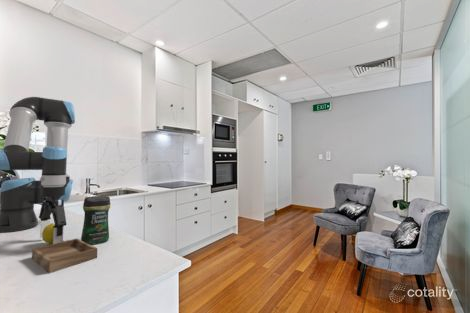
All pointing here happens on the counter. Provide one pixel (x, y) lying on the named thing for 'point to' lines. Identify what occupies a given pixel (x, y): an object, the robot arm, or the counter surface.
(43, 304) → the counter surface
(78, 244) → the walnut tray
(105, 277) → the counter surface
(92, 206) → the coffee jar
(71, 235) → the counter surface
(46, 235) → the lemon
